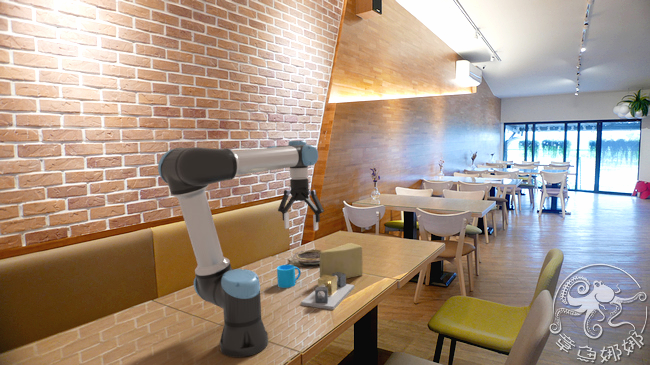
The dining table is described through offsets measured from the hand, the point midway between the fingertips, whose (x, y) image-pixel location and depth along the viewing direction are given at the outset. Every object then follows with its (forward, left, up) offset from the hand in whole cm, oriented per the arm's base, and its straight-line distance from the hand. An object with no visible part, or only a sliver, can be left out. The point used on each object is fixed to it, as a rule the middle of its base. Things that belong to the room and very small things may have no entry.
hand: (301, 229), depth 156 cm
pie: (+44, +18, -29) cm, 56 cm away
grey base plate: (+4, -10, -29) cm, 31 cm away
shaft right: (+12, -10, -28) cm, 32 cm away
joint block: (+5, -9, -27) cm, 29 cm away
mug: (+11, +13, -29) cm, 34 cm away
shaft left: (-4, -10, -28) cm, 30 cm away
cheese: (+25, -6, -29) cm, 39 cm away
